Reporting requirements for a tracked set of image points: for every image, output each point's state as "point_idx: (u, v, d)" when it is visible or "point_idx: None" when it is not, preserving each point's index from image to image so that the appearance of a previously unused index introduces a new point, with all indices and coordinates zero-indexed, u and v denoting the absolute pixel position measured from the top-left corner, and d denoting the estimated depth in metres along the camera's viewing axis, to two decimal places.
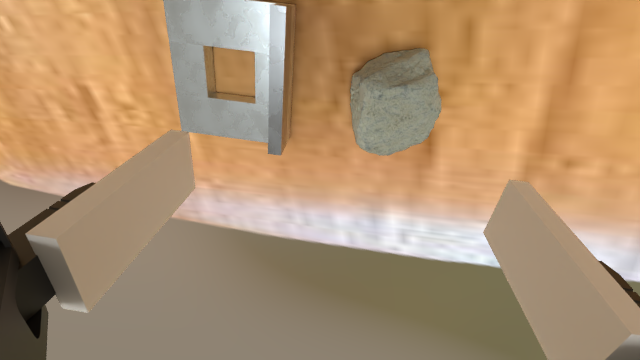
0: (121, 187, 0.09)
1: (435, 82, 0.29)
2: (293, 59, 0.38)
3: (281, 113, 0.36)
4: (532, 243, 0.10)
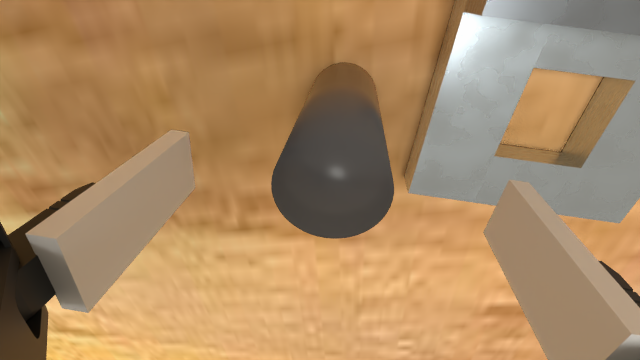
0: (121, 187, 0.09)
1: None
2: None
3: None
4: (532, 243, 0.10)
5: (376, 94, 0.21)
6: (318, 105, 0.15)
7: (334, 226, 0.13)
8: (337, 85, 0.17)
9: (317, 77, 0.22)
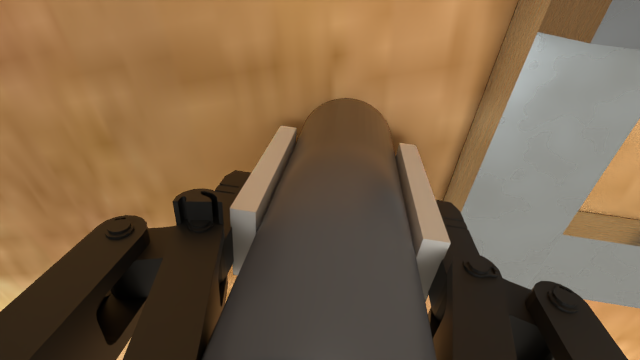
0: (274, 173, 0.11)
1: None
2: None
3: None
4: None
5: (393, 148, 0.14)
6: (296, 207, 0.08)
7: None
8: (334, 152, 0.10)
9: (308, 118, 0.16)
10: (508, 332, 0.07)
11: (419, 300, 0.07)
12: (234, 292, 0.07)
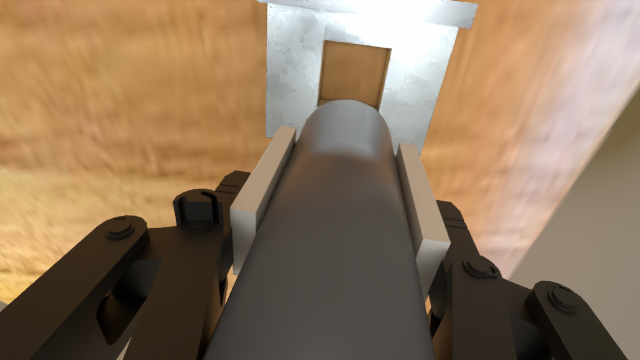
0: (274, 173, 0.11)
1: None
2: None
3: None
4: None
5: None
6: (296, 209, 0.08)
7: None
8: (333, 153, 0.10)
9: (308, 119, 0.16)
10: (508, 332, 0.07)
11: (419, 302, 0.07)
12: (234, 294, 0.07)
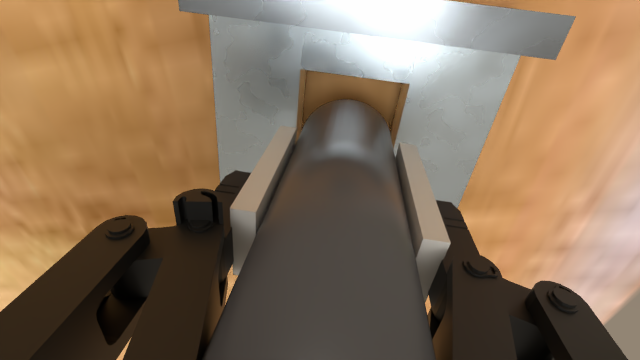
0: (274, 173, 0.11)
1: None
2: None
3: (437, 2, 0.12)
4: None
5: (393, 149, 0.14)
6: (296, 209, 0.08)
7: None
8: (333, 153, 0.10)
9: (308, 119, 0.16)
10: (508, 332, 0.07)
11: (419, 302, 0.07)
12: (234, 294, 0.07)
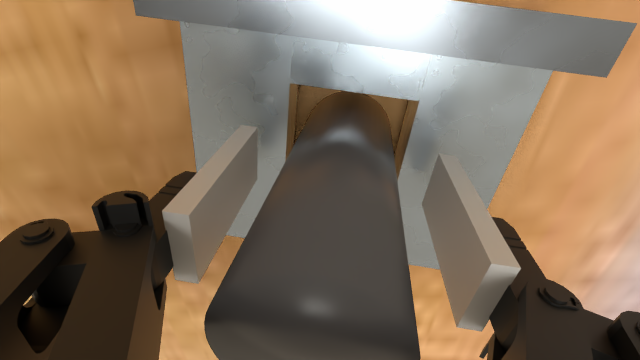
0: (221, 174, 0.10)
1: None
2: None
3: (458, 5, 0.10)
4: (447, 205, 0.12)
5: (390, 137, 0.15)
6: (299, 177, 0.09)
7: None
8: (334, 134, 0.12)
9: (313, 110, 0.17)
10: None
11: (400, 251, 0.08)
12: (245, 241, 0.08)
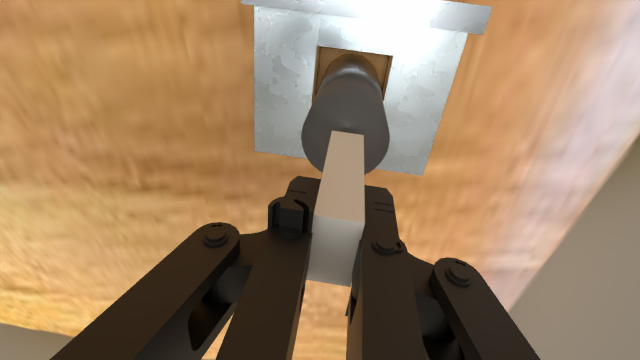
0: (342, 179, 0.11)
1: None
2: None
3: None
4: None
5: None
6: (334, 81, 0.19)
7: None
8: (347, 68, 0.22)
9: (329, 65, 0.27)
10: (412, 302, 0.07)
11: (382, 105, 0.18)
12: (314, 102, 0.18)
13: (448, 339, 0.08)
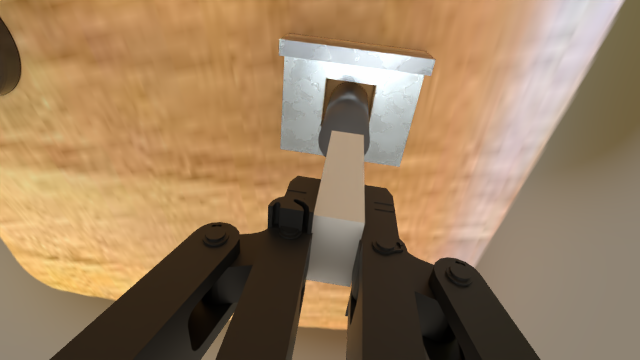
0: (342, 179, 0.11)
1: None
2: None
3: (382, 53, 0.32)
4: None
5: (367, 100, 0.38)
6: (337, 105, 0.32)
7: None
8: (345, 95, 0.34)
9: (334, 90, 0.39)
10: (412, 302, 0.07)
11: (366, 121, 0.30)
12: (325, 119, 0.30)
13: (448, 339, 0.08)
